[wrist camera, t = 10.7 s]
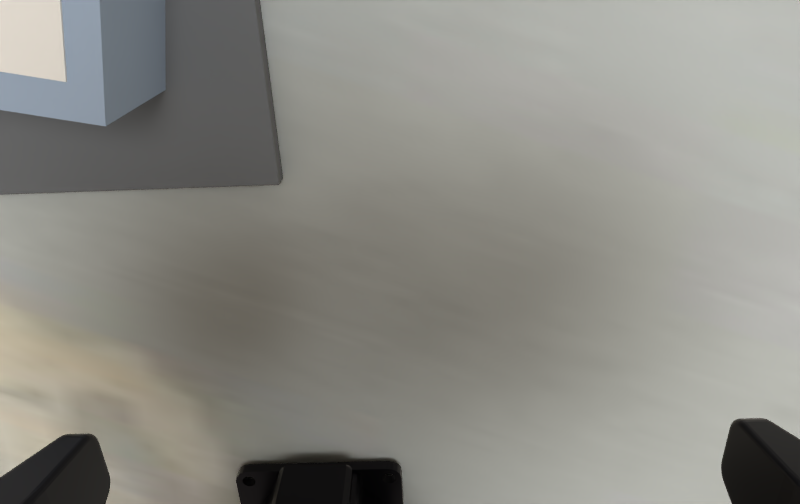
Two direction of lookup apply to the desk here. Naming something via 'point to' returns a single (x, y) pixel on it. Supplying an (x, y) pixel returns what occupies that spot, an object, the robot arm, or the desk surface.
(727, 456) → the robot arm
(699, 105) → the desk surface
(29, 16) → the card deck
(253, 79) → the mat
